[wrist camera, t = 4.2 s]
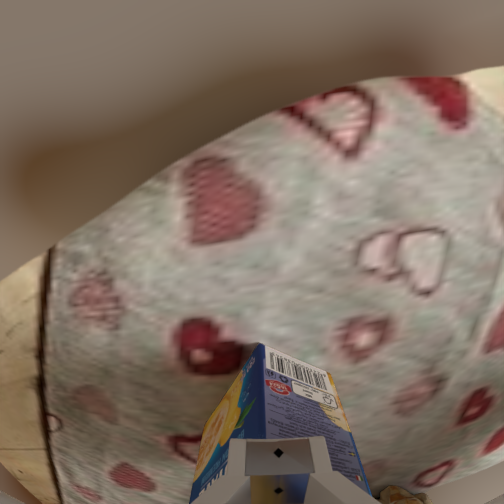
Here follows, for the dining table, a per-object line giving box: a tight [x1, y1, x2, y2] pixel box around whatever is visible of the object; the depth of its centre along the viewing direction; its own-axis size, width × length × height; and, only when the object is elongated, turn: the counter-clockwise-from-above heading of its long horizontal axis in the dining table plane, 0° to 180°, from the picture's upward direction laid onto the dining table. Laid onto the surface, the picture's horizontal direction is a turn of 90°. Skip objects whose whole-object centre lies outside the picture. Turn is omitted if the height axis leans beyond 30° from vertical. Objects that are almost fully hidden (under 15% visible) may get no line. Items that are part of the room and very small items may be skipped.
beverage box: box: [189, 343, 372, 504], centre depth 15 cm, size 7×11×22 cm, turn 152°
